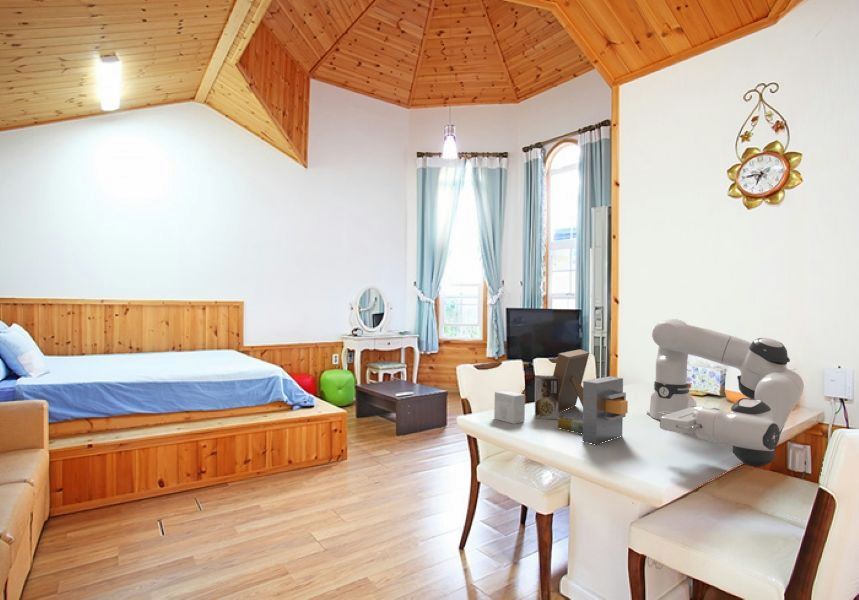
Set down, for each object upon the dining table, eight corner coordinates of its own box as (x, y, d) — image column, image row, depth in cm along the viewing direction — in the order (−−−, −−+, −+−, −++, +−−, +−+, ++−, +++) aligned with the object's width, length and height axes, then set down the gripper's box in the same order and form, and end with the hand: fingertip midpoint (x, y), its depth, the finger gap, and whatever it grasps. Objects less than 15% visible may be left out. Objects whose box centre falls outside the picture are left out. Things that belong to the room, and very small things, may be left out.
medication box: (590, 434, 168) (591, 423, 168) (586, 436, 166) (586, 424, 167) (561, 427, 177) (561, 416, 177) (556, 428, 176) (557, 417, 176)
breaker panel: (608, 433, 169) (609, 376, 169) (630, 438, 163) (631, 379, 163) (582, 441, 159) (583, 381, 159) (604, 447, 153) (605, 384, 153)
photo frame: (543, 413, 197) (545, 352, 196) (566, 404, 214) (567, 348, 213) (579, 420, 187) (580, 355, 187) (599, 410, 204) (601, 351, 204)
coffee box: (557, 415, 194) (557, 375, 193) (558, 419, 187) (559, 378, 187) (534, 414, 195) (534, 374, 195) (534, 418, 189) (535, 377, 189)
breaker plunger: (601, 407, 165) (601, 395, 165) (627, 412, 158) (627, 400, 158) (594, 409, 162) (594, 397, 162) (621, 414, 155) (621, 402, 155)
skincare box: (525, 421, 184) (525, 394, 184) (514, 424, 180) (514, 396, 180) (504, 416, 192) (505, 389, 192) (493, 418, 188) (493, 391, 188)
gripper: (691, 442, 130) (642, 430, 141) (721, 429, 143) (674, 419, 154) (692, 418, 130) (642, 408, 141) (722, 407, 143) (674, 399, 154)
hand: (659, 414), depth 148 cm, fingers closed
